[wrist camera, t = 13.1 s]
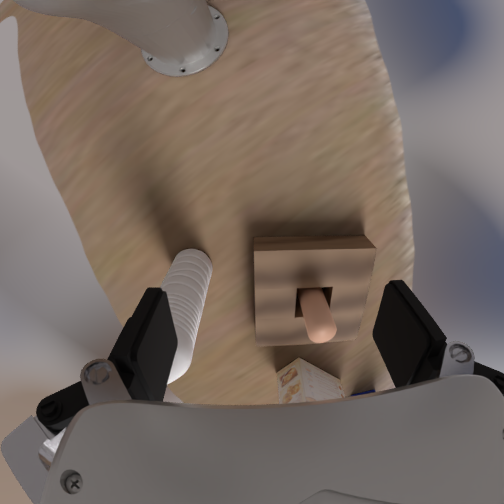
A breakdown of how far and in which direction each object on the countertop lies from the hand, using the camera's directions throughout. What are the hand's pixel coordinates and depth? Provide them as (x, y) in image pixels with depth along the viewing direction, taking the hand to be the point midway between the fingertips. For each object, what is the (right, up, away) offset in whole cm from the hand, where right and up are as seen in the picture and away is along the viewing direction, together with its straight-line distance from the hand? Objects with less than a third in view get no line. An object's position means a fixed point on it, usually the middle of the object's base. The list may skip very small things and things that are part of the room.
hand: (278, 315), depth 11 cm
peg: (+8, -3, +35) cm, 36 cm away
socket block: (+8, -3, +35) cm, 36 cm away
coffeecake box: (+12, -25, +46) cm, 54 cm away
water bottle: (-12, 0, +34) cm, 36 cm away
